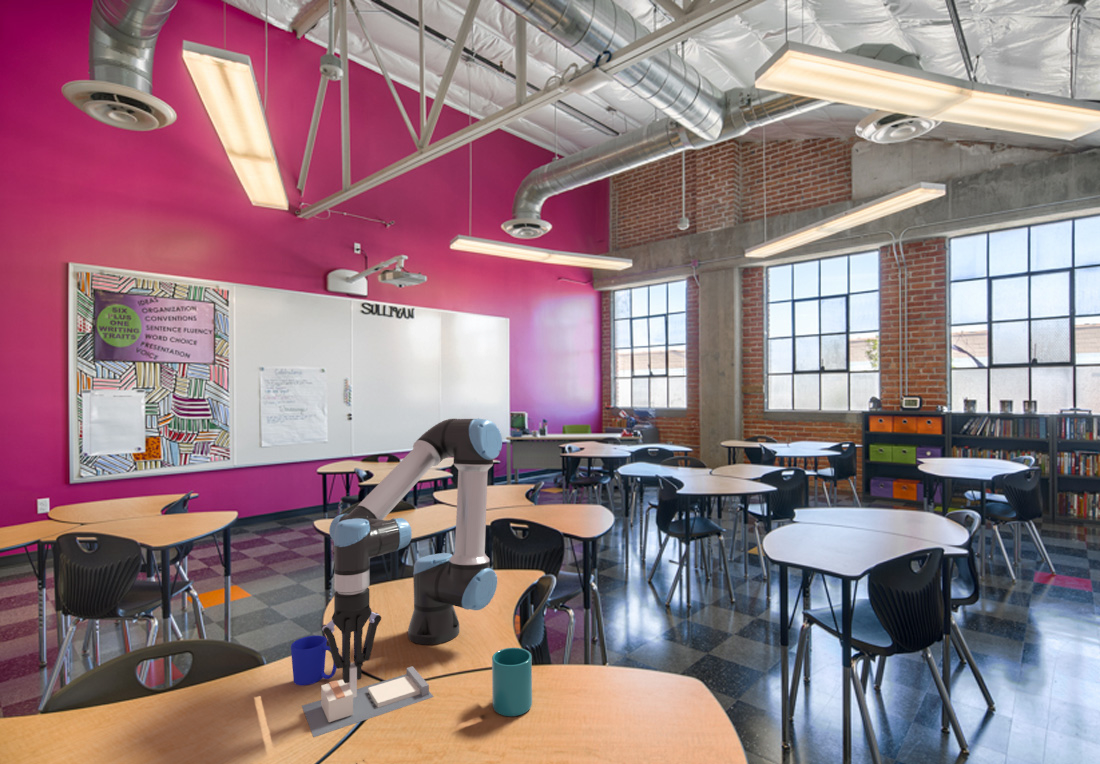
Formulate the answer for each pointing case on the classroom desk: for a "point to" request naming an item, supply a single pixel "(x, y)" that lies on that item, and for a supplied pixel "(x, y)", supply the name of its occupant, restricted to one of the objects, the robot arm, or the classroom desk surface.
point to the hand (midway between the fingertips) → (351, 695)
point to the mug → (310, 660)
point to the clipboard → (372, 701)
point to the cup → (512, 681)
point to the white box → (336, 700)
